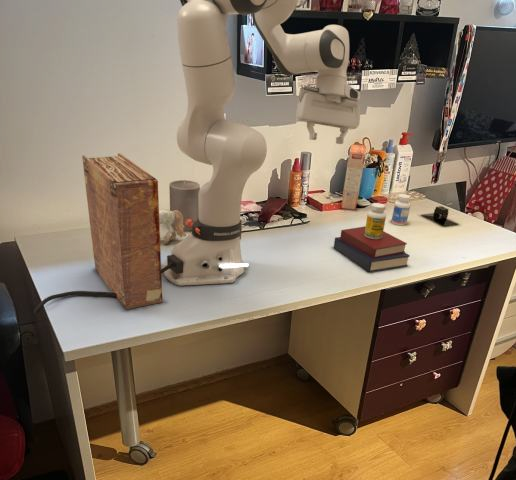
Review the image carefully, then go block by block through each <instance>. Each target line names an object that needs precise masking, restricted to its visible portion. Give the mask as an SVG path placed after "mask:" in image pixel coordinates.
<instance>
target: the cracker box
mask: <svg viewBox="0 0 516 480" xmlns="http://www.w3.org/2000/svg"><path fill="white" fill-rule="evenodd" d="M366 149H367V146H366V145H362V144H351V145H350V149H349V152H348V153H349V154H348V159H347V166H346V171H345V178H344V184H343V190H342V198H341V205H340V209H343V210H352V211H356V210H357V205H358V200H359V195H360V190H361V184H362V177H363V173H364V172H363V171H364V166H365V159H366V152H367V150H366Z"/></svg>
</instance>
